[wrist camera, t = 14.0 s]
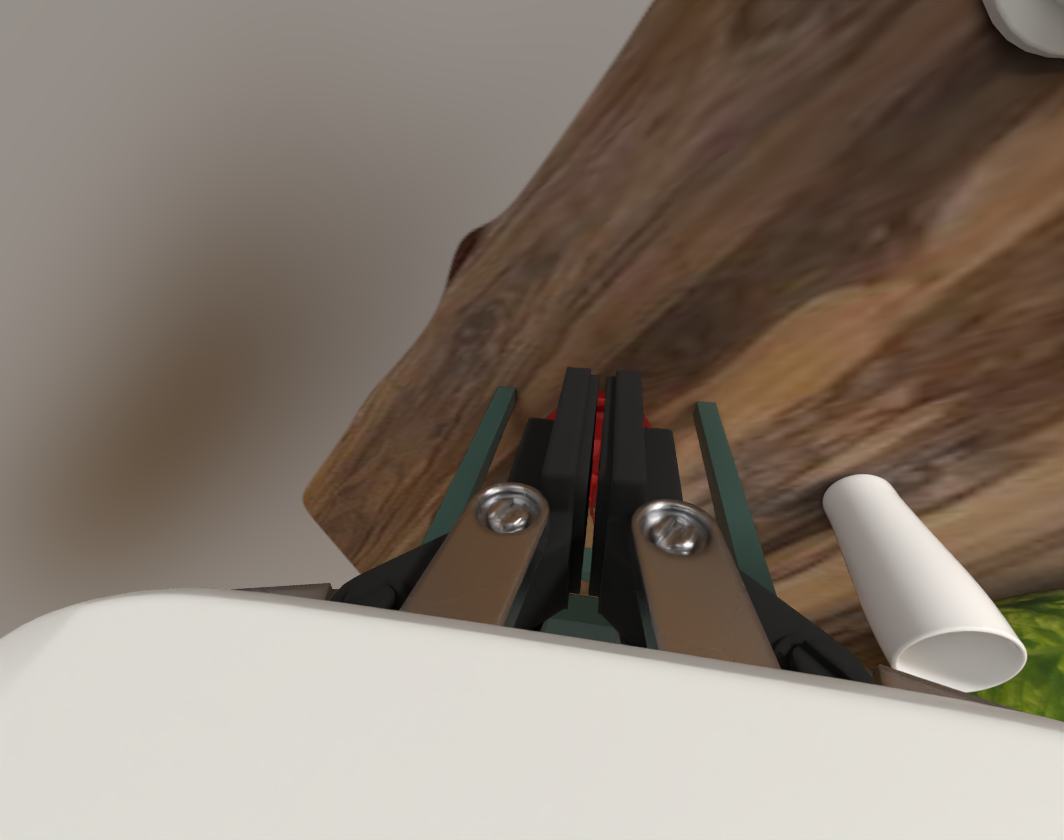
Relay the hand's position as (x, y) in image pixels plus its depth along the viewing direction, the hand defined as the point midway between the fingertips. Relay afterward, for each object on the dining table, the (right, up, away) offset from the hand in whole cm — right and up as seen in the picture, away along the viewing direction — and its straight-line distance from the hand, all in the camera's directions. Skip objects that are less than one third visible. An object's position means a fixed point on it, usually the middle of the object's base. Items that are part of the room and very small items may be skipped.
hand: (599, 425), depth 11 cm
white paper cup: (+26, -6, +29) cm, 40 cm away
